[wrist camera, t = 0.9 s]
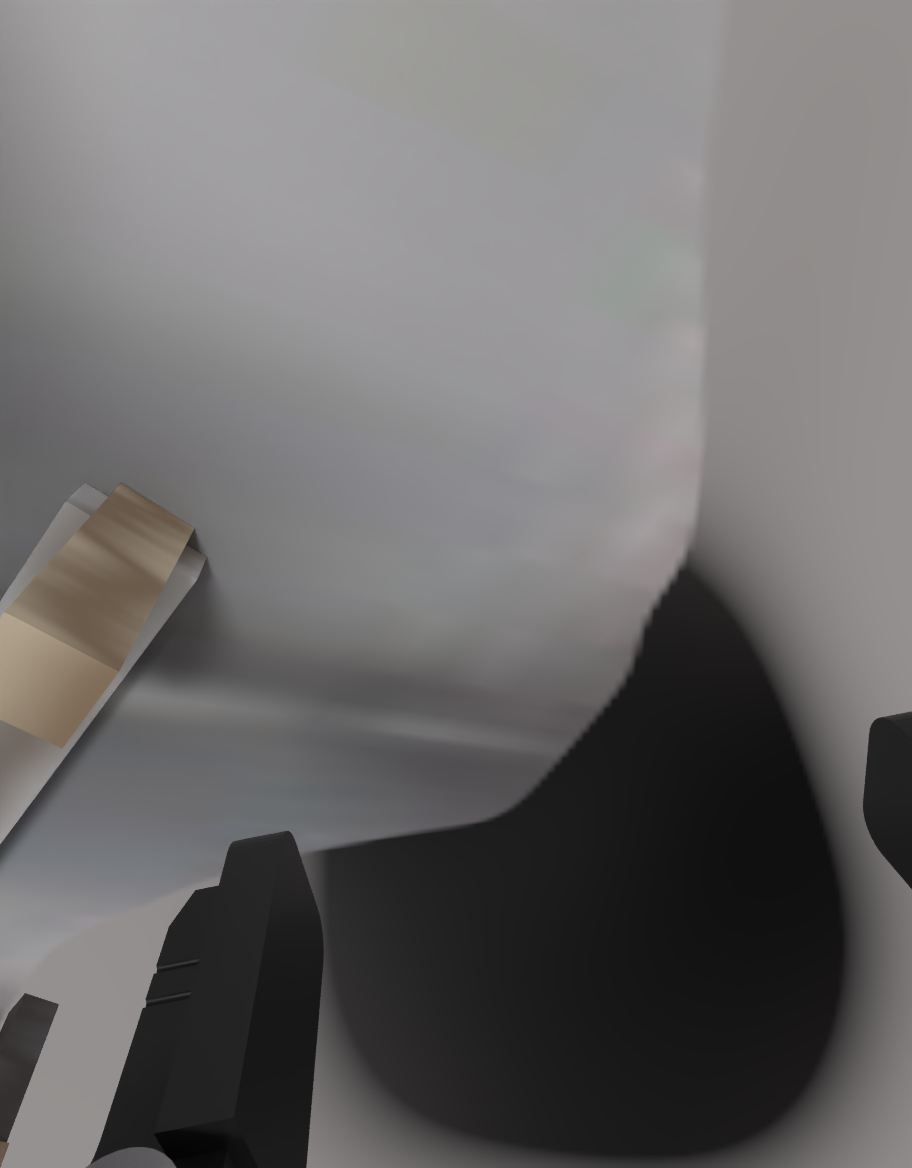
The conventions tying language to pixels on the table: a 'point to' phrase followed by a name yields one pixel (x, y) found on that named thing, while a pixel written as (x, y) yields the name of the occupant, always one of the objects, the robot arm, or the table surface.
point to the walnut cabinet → (20, 1056)
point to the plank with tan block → (81, 626)
